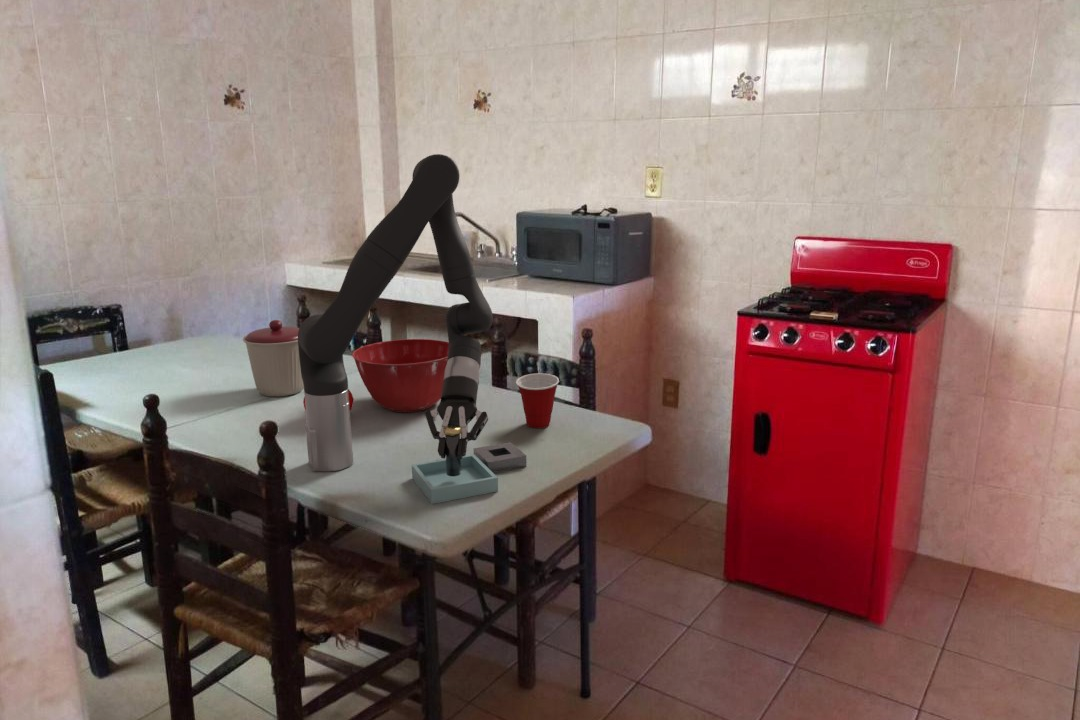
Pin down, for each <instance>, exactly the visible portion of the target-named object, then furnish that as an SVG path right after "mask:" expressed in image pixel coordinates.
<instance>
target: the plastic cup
mask: <svg viewBox="0 0 1080 720" xmlns="http://www.w3.org/2000/svg"><path fill="white" fill-rule="evenodd" d="M559 379H560V378H559V377H558V376H556V375H553V374H549V373H529V374H525V375H522V376H521V377H518V378H517V379H516V380H515V384H516V386H517V387H518V389H519V392H520V397H521V401H522V402H521V403H522V407H523V412H524V417H525V421H526V425H527V426H528V427H530V428H532V429H533V428H534V429H543V428H546V427H549V426H550V423H551V419H552V414H553V410H554V402H555V397H556V392H557V387H558V384H559V383H560V380H559Z"/></svg>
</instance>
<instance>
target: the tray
mask: <svg viewBox="0 0 1080 720" xmlns="http://www.w3.org/2000/svg"><path fill="white" fill-rule="evenodd" d="M411 478H412V480H414V483H415V485H417V486H418V487H419V489H420V490H421V492H422V493H423V494H424V495H425V497H426V498H427V499H428V501H429V502H430V503H431V504H432V505H434V504H439V503H444V502H449V501H455V500H460V499H464V498H470V497H475V496H480V495H486V494H491V493H496V492H499V476H497V475H496V474H495V472H492V471H491V470H490V469H489V468H488V467H487V466H486V465H485V464H483V463H482V462H481V461H480V460H479V459H478V458H477V457H476V456H475V455H474V453H472V454H466V455H465V456H463V458H462V459H461V474H460V475H458V476H448V475H447V472H446V458H445V459H443V458H442V459H438V460H432V461H426V462H420V463H415V464H413V463H412V464H411Z"/></svg>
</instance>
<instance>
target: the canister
mask: <svg viewBox="0 0 1080 720" xmlns="http://www.w3.org/2000/svg"><path fill="white" fill-rule="evenodd" d="M299 328H300V327H295V326H283V323H282V321H281V320H279V319H274V320H271V321H269V323H268V327H264V328H263V327H262V328H259V329H255V330H253V331H251V332H248V334H247V335H245V336H244V337H243V338H242V341H243V342H244V343H245V346H246V349H247V355H248V360H249V364H250V368H251V372H252V375H253V380H254V381H253V382H254V384H255V387H256V389H257V391H258V393H260V395H263V396H266V397H286V396H292V395H296V394H298V393H300V392H302V391H304V385H303V380H302V376H301V368H300V359H299V349H298V331H299Z"/></svg>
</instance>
